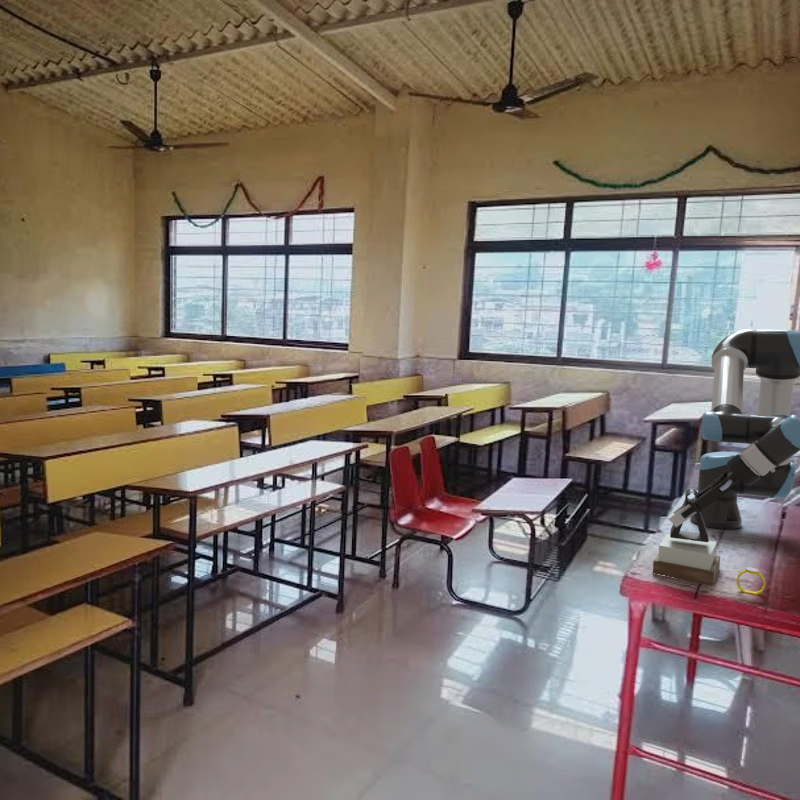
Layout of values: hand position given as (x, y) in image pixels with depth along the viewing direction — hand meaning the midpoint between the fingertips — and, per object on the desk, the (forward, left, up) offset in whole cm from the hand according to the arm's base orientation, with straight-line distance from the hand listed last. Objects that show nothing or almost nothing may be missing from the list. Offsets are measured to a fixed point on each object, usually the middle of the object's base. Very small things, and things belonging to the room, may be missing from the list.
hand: (674, 519), depth 169 cm
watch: (+7, +18, -14) cm, 24 cm away
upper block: (0, +4, -10) cm, 10 cm away
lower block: (0, +4, -14) cm, 14 cm away
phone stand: (0, +4, -4) cm, 6 cm away
